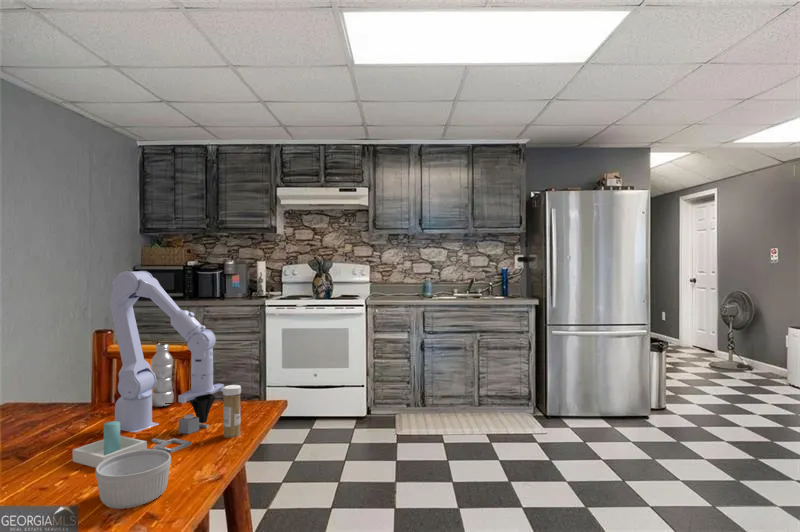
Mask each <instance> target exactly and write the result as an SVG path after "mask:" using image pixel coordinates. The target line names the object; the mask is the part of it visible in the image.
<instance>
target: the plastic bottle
mask: <svg viewBox="0 0 800 532" xmlns="http://www.w3.org/2000/svg"><path fill="white" fill-rule="evenodd" d="M169 350H170V347H169V343H157V344H156V346H155V351H156V353H155V354H154V355H153V357H152V358H151V364H150V366H151V370H152V371H153V373H154V374H155V375H156V384H155V386H154V387H153V388H152V407H157V408H160V407H162V408H163V406H164V407H167V406H168V407H169V406H170V405H171V404H165V403H173V402H174V399H175V398H174V397H175V396H174V391H173V385H172V384H173V383H172V376H173V375H172V373H173V367H174V366H173V365H174V359H173V356H172V354H171V353H170V352H169Z"/></svg>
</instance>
